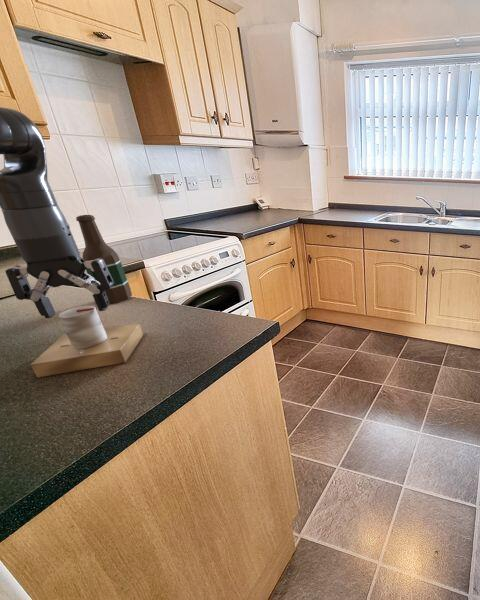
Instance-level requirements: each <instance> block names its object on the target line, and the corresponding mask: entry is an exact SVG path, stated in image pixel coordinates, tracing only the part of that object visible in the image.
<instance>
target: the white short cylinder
mask: <svg viewBox="0 0 480 600" xmlns="http://www.w3.org/2000/svg"><path fill="white" fill-rule="evenodd" d="M57 317H58V319H59V321H60V323H61V326H62V327H63V330H64V331H65V334H67V336H68V338H69V340H70V343H71V345H72V347H73V348H76V349H82V348H88V347H92V346H95V345H98V344H100V343H102V342H104V341H105V340H106V339H107V334H106V332H105V330H104V329H105V327H104V325H103V323H102V320H101V318H100V316H99V313H98V310H97V308H96V306H94V305H81V306H77V307H73V308H69V309H67V310H66V309H65V310H63V311H61V312H60V313H59V314H58V315H57Z"/></svg>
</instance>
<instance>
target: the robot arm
mask: <svg viewBox="0 0 480 600" xmlns="http://www.w3.org/2000/svg"><path fill="white" fill-rule="evenodd" d="M46 151H47V150H46V143H45V140H44V137H43V135H42V133H41V131H40V129H39V128H38V126H37V125H36V124H35V123H34V122H33V120H32V119H31V118H30V117H28V116H27V115H26V114H24V113H23V112H21V111H19V110H16V109H14V108H9V107H1V106H0V155H3V168H1V169H0V209H1V212H2V215H3V219H4V222H5V225H6V227H7V229H8V231H9V233H10V235H11V237H12V239H13V242H14V243H15V245H16V248H17V249H18V252H19V254H20V256H21V258H22V260H23V261H24V262H25V263H26V266H21V265H17V264H16V265H14V266H12V267H9V268H7V269H5V271H4V272H5V274H6V278H7V279H8V282H9V284H10V286H11V289H12V291H13V294H14V296H15V298H16V299H17V300H19V301H23V300H29V301H31V302H33V303H34V305H35V308H36V309H37V311H38V314H39V315H40V316H41V317H44V318H45V319H51V318H53V317H54V316H56V314H57V313H56V310H55V308H54V305H53V304H52V301H51V300H50V298H49V296H47V294H48V292H49V290H50V288H59V287H61V286H66V287H70V286H74V285H77V286H78V287H80V288H82V289H86V290H88V291H89V292H91V293H92V297H93V300H94V302H95V305H96V307H97V309H98V311H99V312H105V311H106V310H107V309H108V307H109V306H110V304H109V300H108V298H107V295H106V293H105V290H108V289H110V288H111V287H112V286H113V285H114V281H113V279H112V277H111V275H110V272H109V270H108V268H107V266H106V264H105V262H104V260H103V259H102V258H97V259H95V260H91V261H84V260H83V259H82V256H81V253H80V250H79V248H78V245H77V243H76V239H75V238H74V236H73V233H72V230H71V227H70V224H69V223H68V221H67V219H66V216H65V214H64V213H63V211H62V209H61V208H60V206H59V204H58V201H57V199H56V197H55V194H54V192H53V189H52V187H51V185H50V182H49V179H48V178H49V177H48V161H47V153H46ZM87 267H88V268H90V270H91V271H94V272H95V274H96V276H97V278H98V280H99V282H100V283H99V282H98V281H96V280H95V279H94V277H92V276H91V275H89V274H87V271H86V268H87ZM29 275H30V276H32V277H33V278H35V279H37V280H36V283H35V285H34V286H33V289H32V288H31V285H30V283H29V279H28V277H29Z"/></svg>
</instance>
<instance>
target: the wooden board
mask: <svg viewBox="0 0 480 600" xmlns="http://www.w3.org/2000/svg"><path fill="white" fill-rule="evenodd" d="M104 330H105V332H106V334H107V339H106V340H105V341H104V342H102V343H100V344H98V345H95V346H92V347H88V348H82V349H76V348H73V347H72V345H71V343H70V340H69V338H68V336H67V334H66V333H64V334H62V335H61V336H59V338H58V339H56V340H55V341H54V342H53V343H52V344H51V345H50V346H49V347H48V348H47V349H46V350H44V352H42V353H41V354H40V355H39V356H38V357H37V358H36V359H34V361H33V362H31V363H30V366H31V368H32V370H33V372H34V374H35V376H36V377H37V378H42V377H49V376H54V375H61V374H66V373H71V372H77V371H83V370H90V369H95V368H100V367H107V366H113V365H117V364H118V365H119V364H124V363H126V362H127V361H128V359H129V358H130V356H131V355H132V353H133V352H134V350H135V349H136V347H137V346H138V344H139V342H140V341H141V340H142V338H143V336H144V333H143V330H142V327H141V325H140V323H134V324H127V325H120V326H114V327H107V328H104Z"/></svg>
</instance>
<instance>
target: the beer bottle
mask: <svg viewBox="0 0 480 600" xmlns="http://www.w3.org/2000/svg"><path fill="white" fill-rule="evenodd" d="M95 220H96V218H95V216H94V215H92V214H81V215H77V216H76V219H75V221H77V222H78V224H79V227H80V232H81V234H82V237H83V240H84V246H85V247H84V249H83V252H82V256H81V258H82V259H83V260H84V261H91V260H95V259H97V258H102V259H103V260H104V262H105V264H106V266H107V268H108V270H109V272H110V275H111V277H112V279H113V281H114V285H113V286H112V287H111V288H110V289H108V290H105V293H106V295H107V298H108V300H109V305H110V304H118V303H121V302H125V301H127V300H129V299H130V298H131V297H132V296H133V293H132V289H131V286H130V283H129V281H128V278H127V276H126V273H125V270H124V267H123V264H122V261H121V259H120V257H119V255H118V253H117V252H116V251H115V250H114V249H113V248H112V247H110V246H109V245H108V244H107V243H106V241H105V240H104V238H103V236H102V233H101V232H100V229H99V227H98V225H97V223H96V221H95ZM85 272H86V273H87V274H89V275H91V276H92V277H94V279H95V280H96V281H98V282H99V280H98V278H97V276H96V274H95V272H94V271H91V270H90V268H88V267H87V268H86V270H85ZM99 283H100V282H99Z"/></svg>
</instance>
